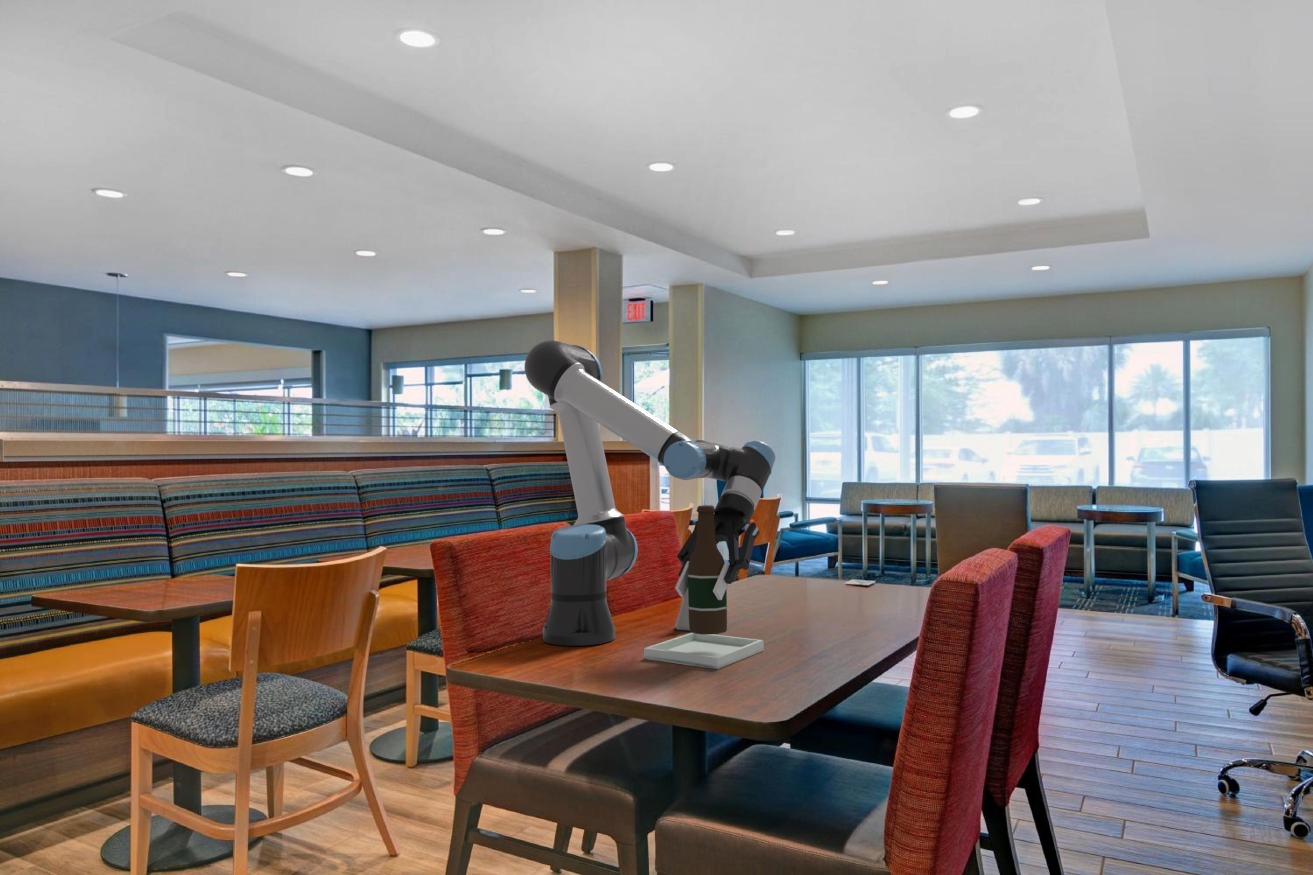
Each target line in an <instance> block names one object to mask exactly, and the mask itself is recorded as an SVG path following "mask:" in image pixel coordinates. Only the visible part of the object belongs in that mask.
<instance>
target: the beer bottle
mask: <svg viewBox="0 0 1313 875" xmlns="http://www.w3.org/2000/svg"><path fill="white" fill-rule="evenodd" d="M715 508H716V507H715V506H714V505H710V504H707V505H697V507H696V512H697V521H698V530H697V543H696V548H695V550H694V551H693V553H692V555H691V557H690V560H689V563H688V609H689V629H690V633H696V634H702V635H703V634H714V635H720V634H724V633H726V632H727V630H728V609H727V608H728V605H727V604H728V602H727V600H728V599H727V597H728V595H727V594H728V593H727V588H728V587H727V588H726V591H725V593H724V595H723V598H722V600H718V599H717V597H716V596H715V594H714V592H713V589H714V587H715V584H716V582H717V580H718V577H719V575H720V573H721V570H722V568H723V566H724V563H726V562H725V560H724V556H723V555H722V554H721V552H720V550H719V549H718V544H716V536H715V523H714V512H715Z"/></svg>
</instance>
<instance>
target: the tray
mask: <svg viewBox="0 0 1313 875" xmlns="http://www.w3.org/2000/svg"><path fill="white" fill-rule="evenodd" d="M764 644H765V642H764V639H757V638H748V637H738V636H730V635H722V634H721V635H720V634H703V635H702V634H696V633H691V632H690V633H686V634H684V635H680V636H677V637H675V638H670V639H668V640H665V641H662V642H659V643H656V644H653V645H650V646H647V647H644V648H643V659H644V660H650V661H657V662H664V663H671V664H679V665H686V666H693V667H698V668H707V669H714V670H720V669H722V668H725V667H727V666H729V665H732V664H734V663H737V662H739V661H742V660H744V659H746V658H749V657H751V656H753V655H754V656H755V655H757V654H759V653H761V652H764V651H765V650H764V649H765V646H764Z"/></svg>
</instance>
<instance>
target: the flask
mask: <svg viewBox="0 0 1313 875" xmlns="http://www.w3.org/2000/svg"><path fill="white" fill-rule="evenodd" d="M674 628H675V629H676V630H678V631H687V632H688V631H690V629H689V609H688V588H687V591H686V593H685V595H684V597H683V599H682V604H681V607H680V611H679V613H678V616H677V618H676V622H675V625H674Z"/></svg>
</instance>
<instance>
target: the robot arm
mask: <svg viewBox="0 0 1313 875" xmlns="http://www.w3.org/2000/svg"><path fill="white" fill-rule="evenodd" d="M524 360H525V361H524V373H525V377H526V380H528V382H529V384H530V385H531V386H532V387H533V388H534V389H536V390H537V391H539V392H541V393H543V395H546V396H547V397H548V403H549V408H550V409H551V410H553V411H554V412H556V414H558V420H559V424H560V430H561V434H562V440H563V444H564V449H565V455H566V459H567V465H568V469H569V470H568V471H569V474H570V480H571V485H572V490H573V494H574V501H575V505H576V510H577V519H576V521H575V522H574V524H573V525H568V526H563V527H561V528H557V529H556V530H554V531H553V533H552V534H551V537H550V546H549V554H550V557H549V558H550V605H549V608H548V610H547V614H546V618H545V623H544V626H543V628H542V641H543V642H545V643H547V644H551V645H556V646H565V647H569V646H571V647H575V646H576V647H581V646H595V645H601V644H606V643H609V642H611V641H613V640H615V639H616V626H615V624H614V623H613V619H612V614H611V611H610V608H609V605H608V601H607V600H608V599H607V581H611V580H615V579H619V578H620V577H622V576H624V575H625V574H627V573H628V572H629V571H630V570H631V569H632V568H633V566H634V565H635V562H636V560H637V558H638V551H639V550H638V549H639V547H638V541H637V538H636V537H635V536H634V534H633V533H632V532H631V531H630V530H629V529H628V528H627V525H626V520H625V515H624V514H623V513H622V512H620V511H618V509H617V508H616V504H615V499H614V494H613V490H612V489H613V488H612V482H611V479H610V475H609V474H610V473H609V470H608V462H607V459H606V454H605V450H604V443H603V439H602V434H601V430H600V425H601V426H602V427H604V428H606V429H607V430H608V431H610V432H612V433H614V434H615V435H617V436H618V437H619V438H621V439H623V441H625V442H627V443H629V444H630V445H632V446H633V447H635V448H636V449H638V451H641V452H643V453H644V454H646V455H647V456H649V457H650V458H652V459H654V460H655V461H656V462H658V463H660V465H662V466H663V467H664V468H665V470H666V471H667V473H668V474H669V475H671V477H672V478H676V479H679V480H683V481H688V480H690V481H691V480H694V479H703V478H704V479H705V478H707V479H712V480H716V481H723V482H726V484H725V486H724V488H723V490H722V492H721V495H720V497H719V499H718V502H717V503H716V505H715V507H714V508H715V512H714V523H715V536H716V544H717V545H718V544H719V542H720V543H722V542H725V543H727V544H728V545H727V546H728V559H727V561H728V563H726V562H725V563H724V566H723V568H722V570H721V573H720V575H719V577H718V580H717V582H716V584H715V587H714V589H713V592H714V594H715V596H716V597H717V599H718V600H722V598H723V595H724V593H725V591H726V588H728V585H731V584H732V583H733V582H734V580H735V578H736V574H737V573H738V572H739V570H742V569H743V570H748V569H749V567H750V563H751V558H752V556H753V555H752V554H753V551H754V547H755V546H754V545H755V542H756V539H757V537H758V536H759V534H760V530H759V527H758V526H757V524H756V522H751V520H752V518H753V515H754V513H755V510H756V509H757V506H758V503H759V501H760V500H761V496H762V493H763V491H764V489H765V486H766V484H767V482H768V480H769V478H770V476H771V475H772V469H773V467H774V464H775V460H776V454H775V451H774V450H773V448H772V447H771V446H770V445H769V444H767V443H765V442H763V441H761V440H756V439H755V440H752V441H751V440H749V441H747V442H745V443H744V445H743V446H742V447H741V448H739V447H732V446H727V445H723V444H718V443H715V442H709V441H705V440H703V439H694V438H689V436H687V435H685V434H684V433H681V432H680V431H679V430H677V429H675V428H674V427H672V425H669V424H667V423H666V422H665V421H663V420H662V419H660V418H658V416H657V417H656V416H655V415H654V414H652V413H650V412H649V411H647V410H646V409H644V408H642V407H641V406H640V405H638V404H636V403H635V402H633V401H632V400H630V399H628V398H627V397H625V396H624V395H622V394H621V393H619V392H617V391H616V390H614V389H613V388H612V387H609V386H608V385H607V384H605V383H604V382H602V379H603V369H602V366H601V362H600V361H599V359H598V358H597V356H596V355H595V354H594V353H593V352H591V351H590V350H588V349H587V348H585V347H583V346H581V345H577V344H576V345H575V344H569V343H565V342H562V341H558V340H554V339H553V340H552V339H550V340H545V341H541V342H539V343H537V344H536V345H534V346H533V347H532V348H531V349H530V350H529V351H528V353H527V355H526V357H525V359H524ZM697 530H698V520H696V522H695V525H694V528H693V531H692V532H691V533H690V535H689V537H688V539H687V540H686V542H684V545H683V546H682V547H681V549H680V550H679V552H678V554H677V556H676V558H677V559H678V561H679V563H680V564H681V567H680V570H679V571H678V577H679V578H678V581H677V583H676V585H675V587H674V589H675V590H676V592H677V593H678V595H679V596H680V597H681V598H684V595H685V593H686V591H687V588H688V563H689V560H690V557H691V555H692V553H693V551H694V550H695V548H696V543H697ZM742 535H744V536H743V540H742V544H741V548H740V552H739V546H740V539H739V538H740V536H742Z"/></svg>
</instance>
